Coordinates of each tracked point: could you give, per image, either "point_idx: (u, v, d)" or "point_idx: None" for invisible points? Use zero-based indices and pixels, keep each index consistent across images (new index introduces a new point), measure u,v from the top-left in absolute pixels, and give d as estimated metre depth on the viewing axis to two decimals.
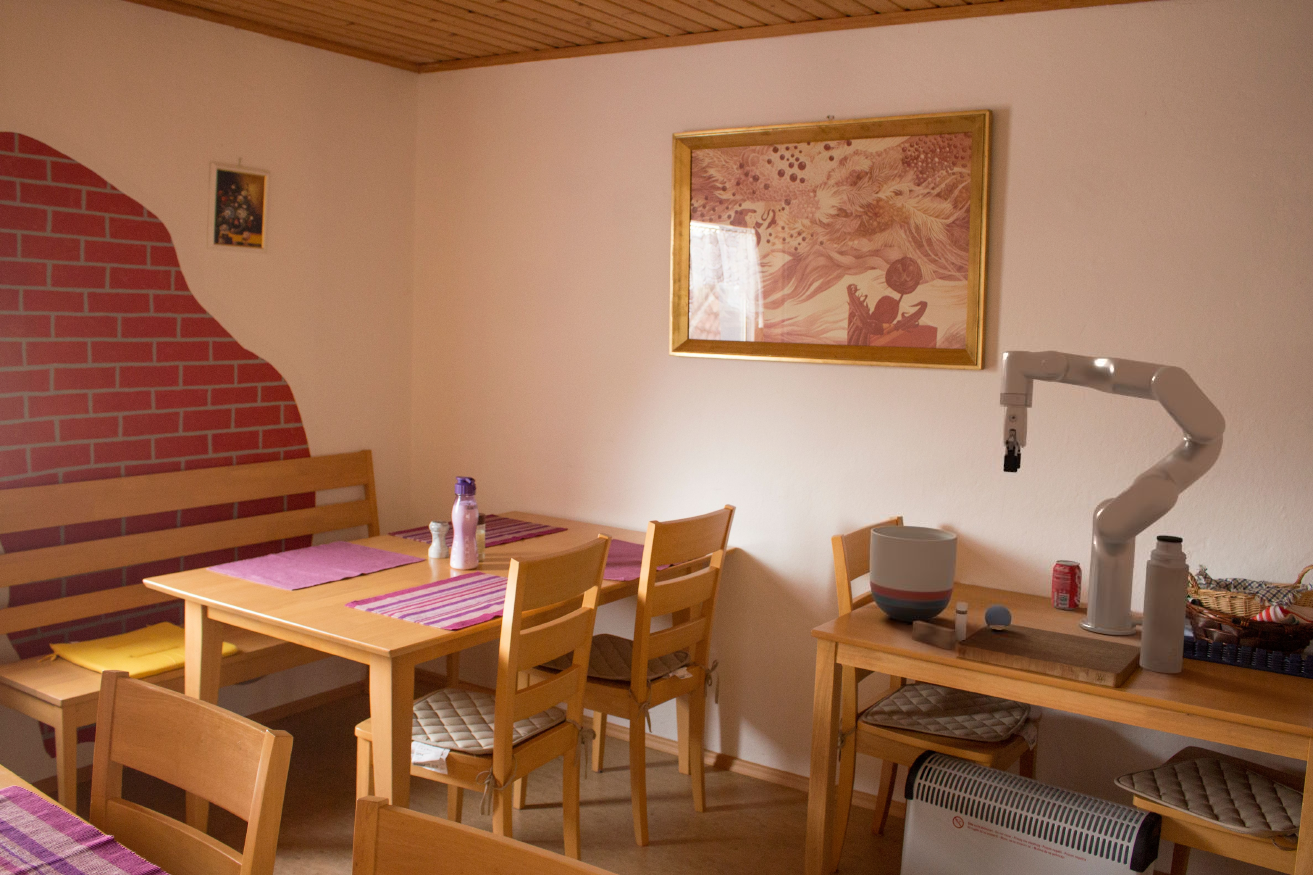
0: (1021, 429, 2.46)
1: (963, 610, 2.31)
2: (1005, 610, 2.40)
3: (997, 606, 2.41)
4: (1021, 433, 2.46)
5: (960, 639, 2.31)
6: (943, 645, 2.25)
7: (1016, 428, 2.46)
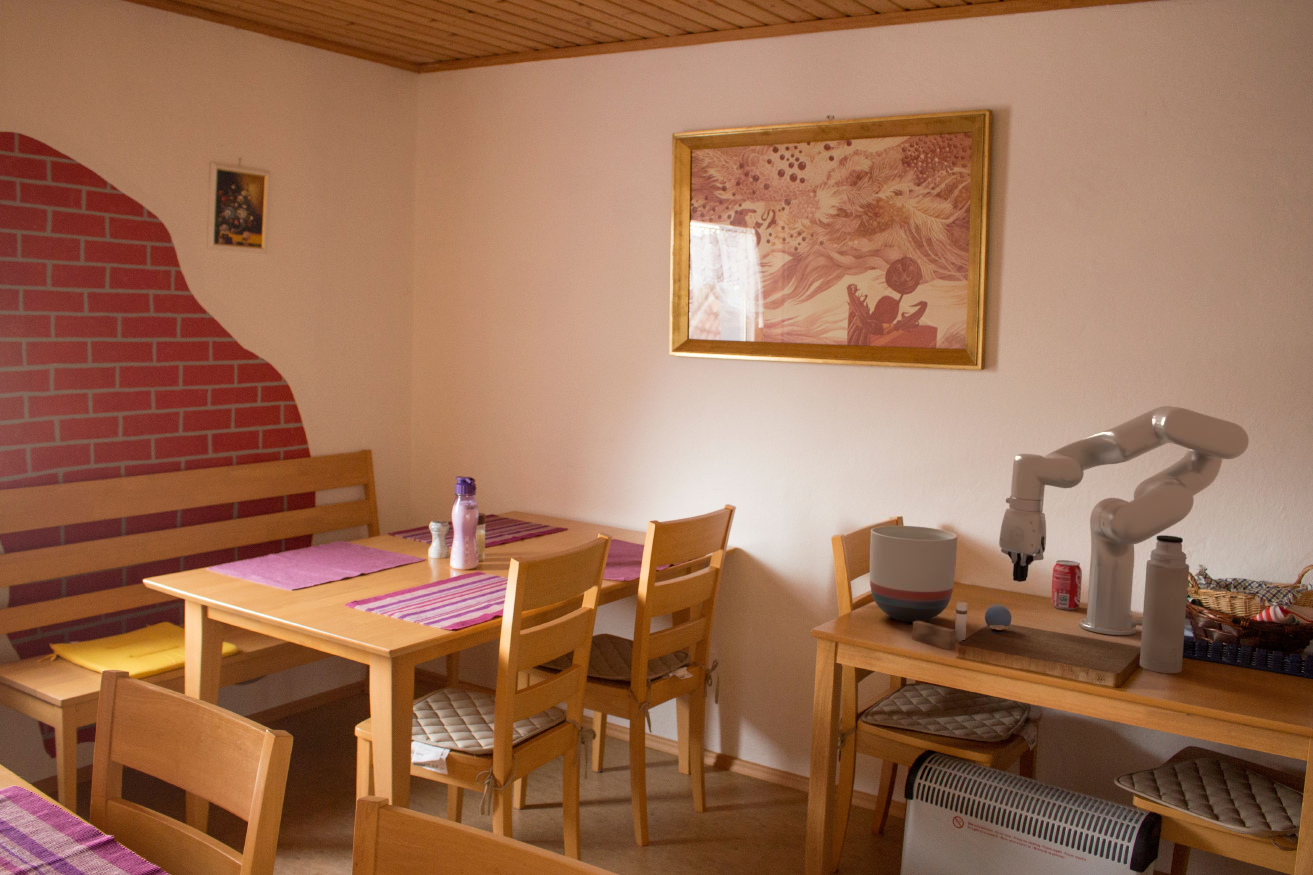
0: None
1: (963, 610, 2.31)
2: (1005, 610, 2.40)
3: (997, 606, 2.41)
4: None
5: (960, 639, 2.31)
6: (943, 645, 2.25)
7: None
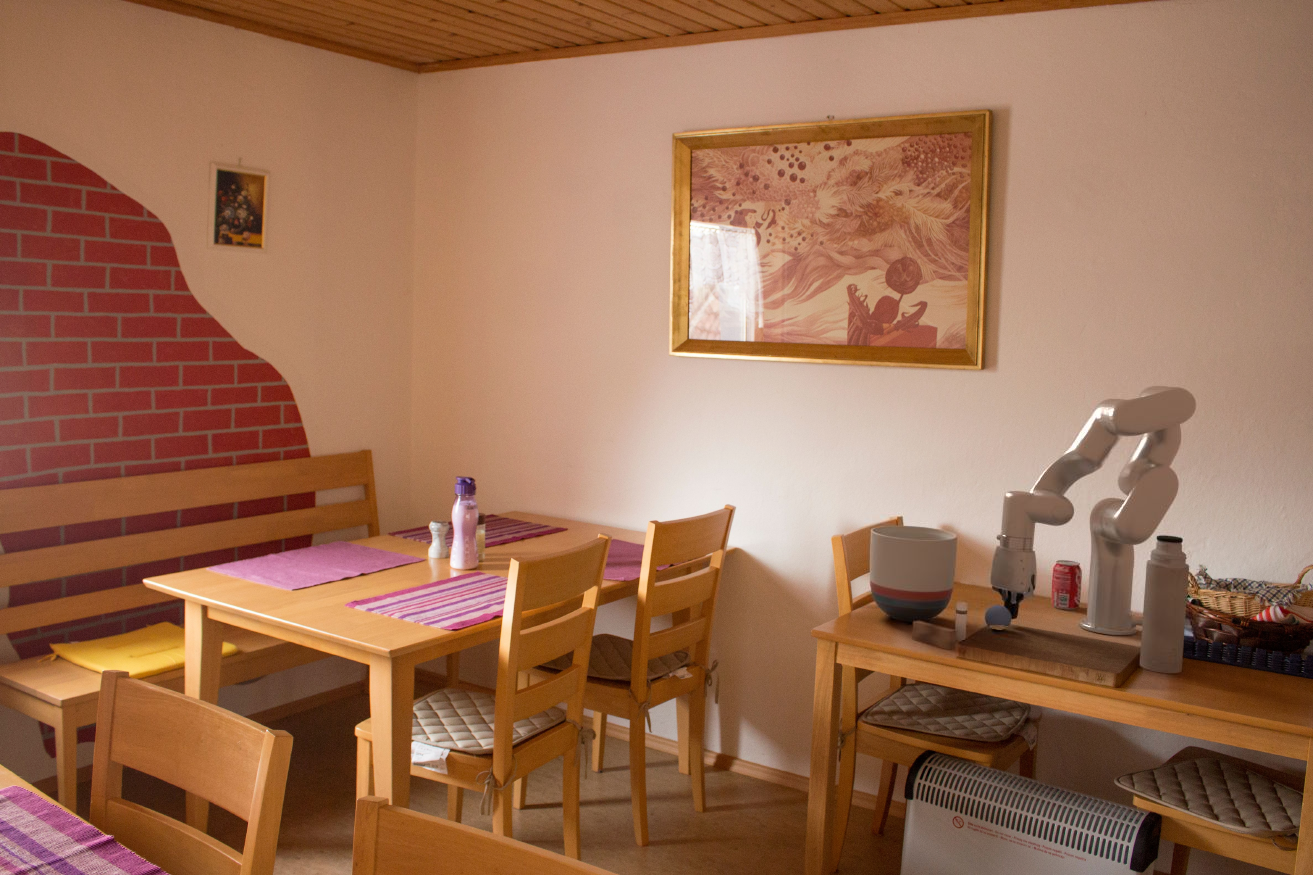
0: None
1: (963, 610, 2.31)
2: (1005, 610, 2.40)
3: (997, 606, 2.41)
4: None
5: (960, 639, 2.31)
6: (943, 645, 2.25)
7: None
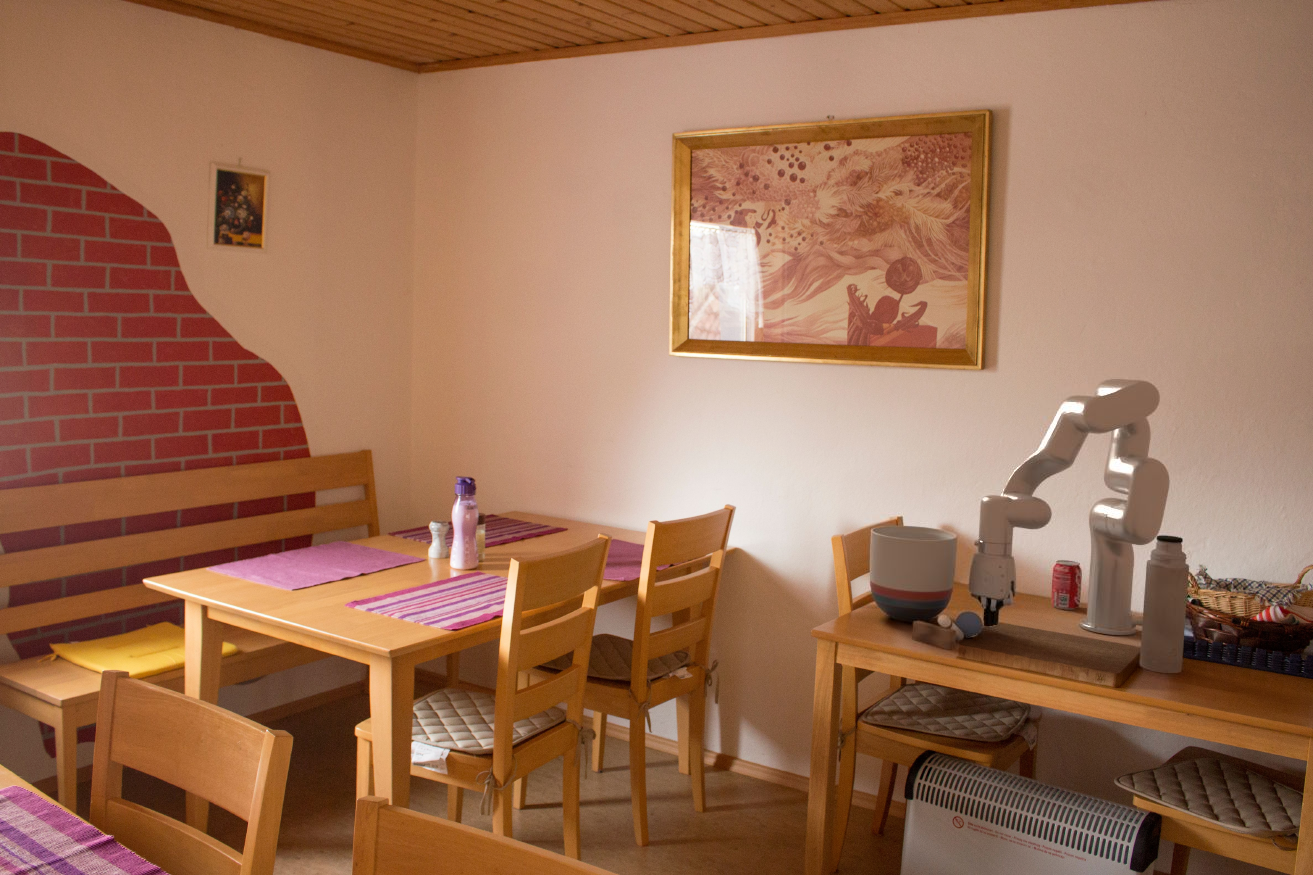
0: None
1: (948, 626, 2.27)
2: None
3: None
4: None
5: (959, 639, 2.31)
6: (943, 645, 2.25)
7: None
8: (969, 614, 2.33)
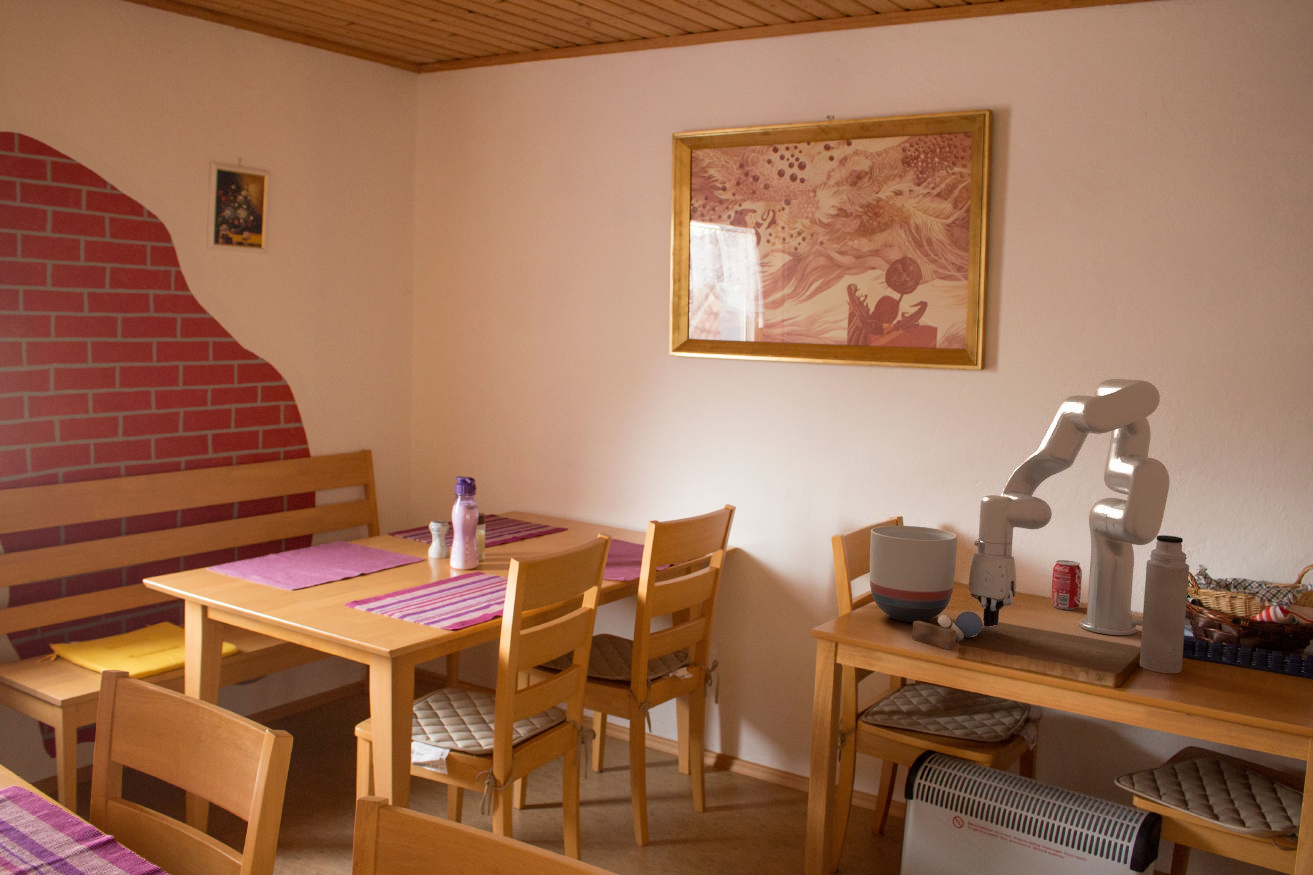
0: None
1: (948, 626, 2.27)
2: None
3: None
4: None
5: (959, 639, 2.31)
6: (943, 645, 2.25)
7: None
8: (969, 614, 2.33)
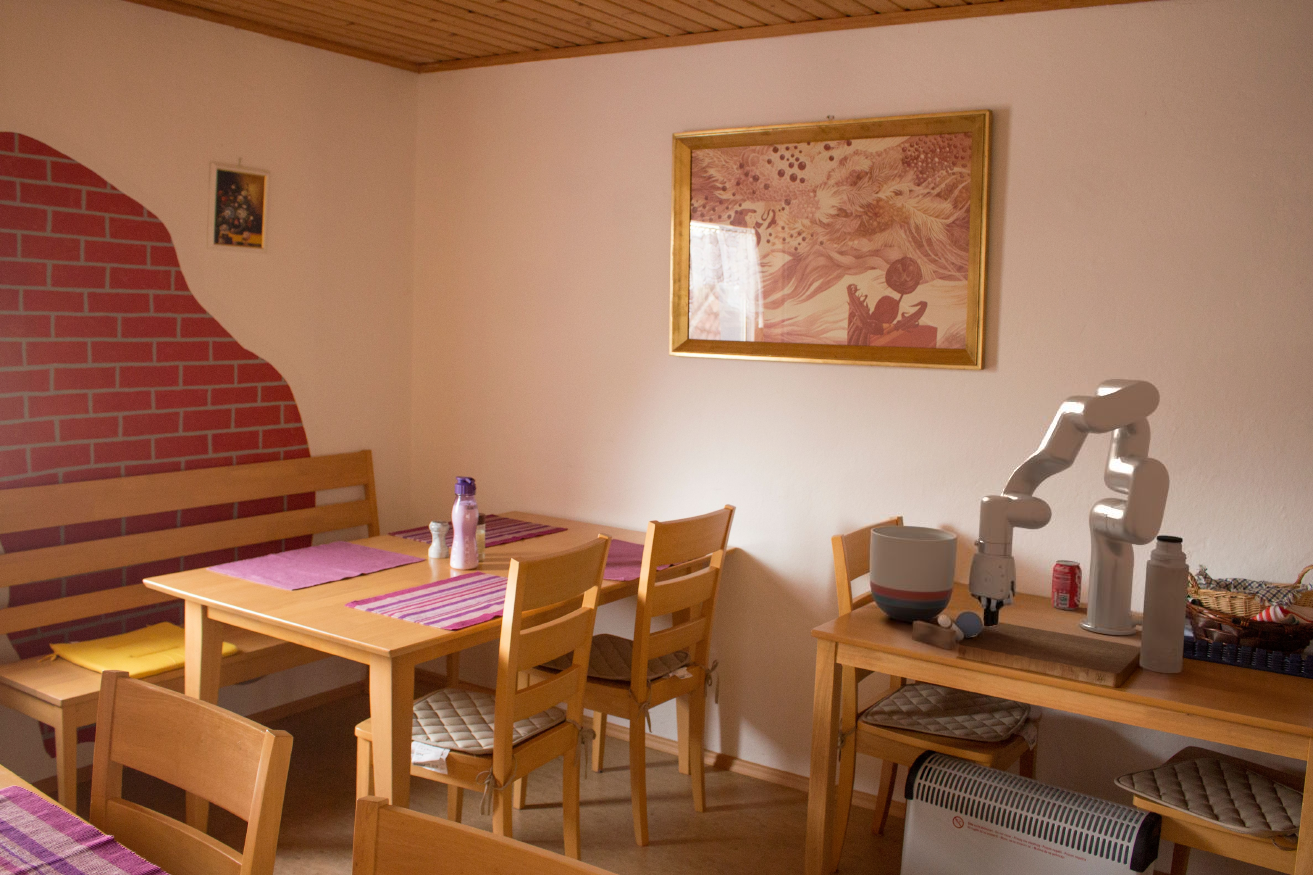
0: None
1: (948, 626, 2.27)
2: None
3: None
4: None
5: (959, 639, 2.31)
6: (943, 645, 2.25)
7: None
8: (969, 614, 2.33)
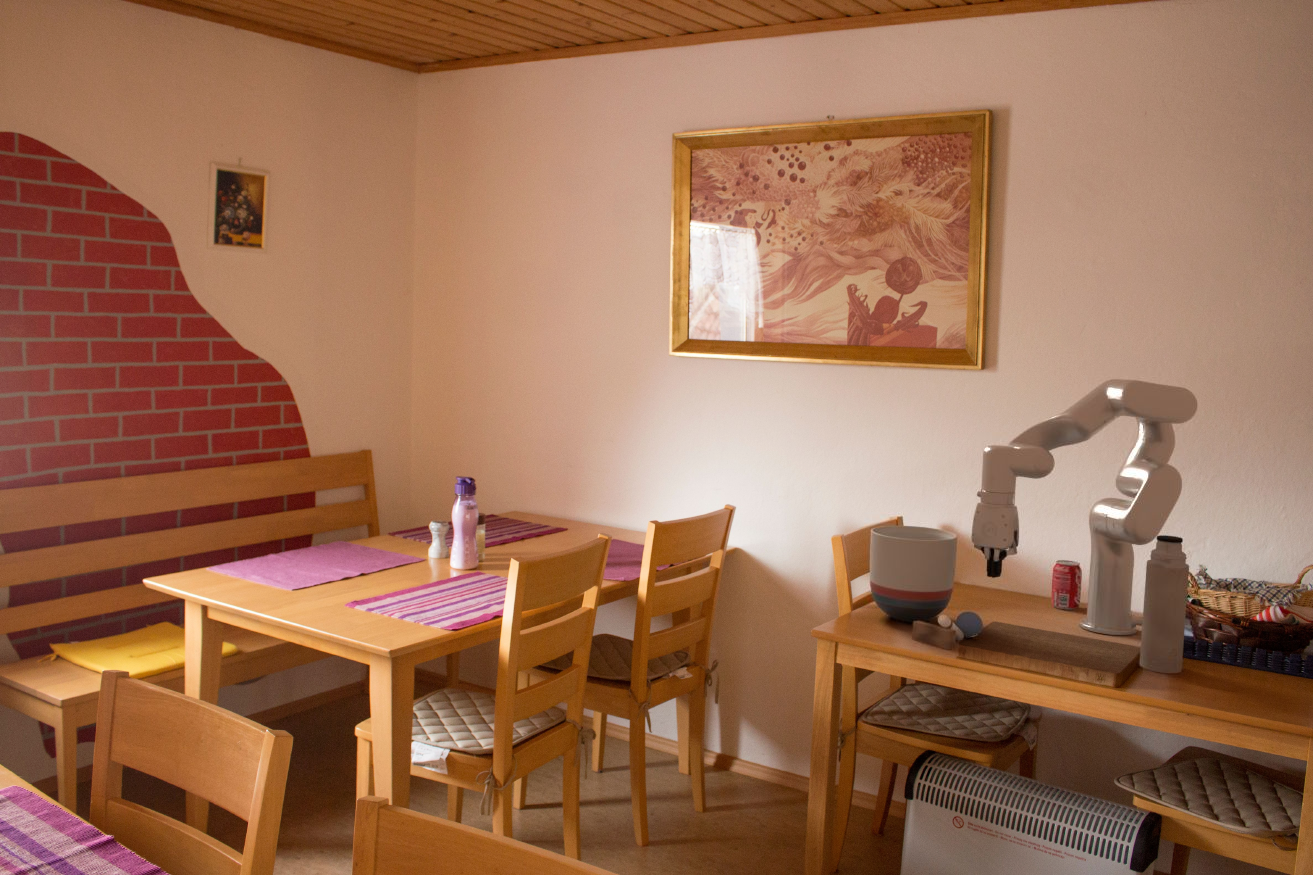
0: None
1: (948, 626, 2.27)
2: None
3: None
4: None
5: (959, 639, 2.31)
6: (943, 645, 2.25)
7: None
8: (969, 614, 2.33)
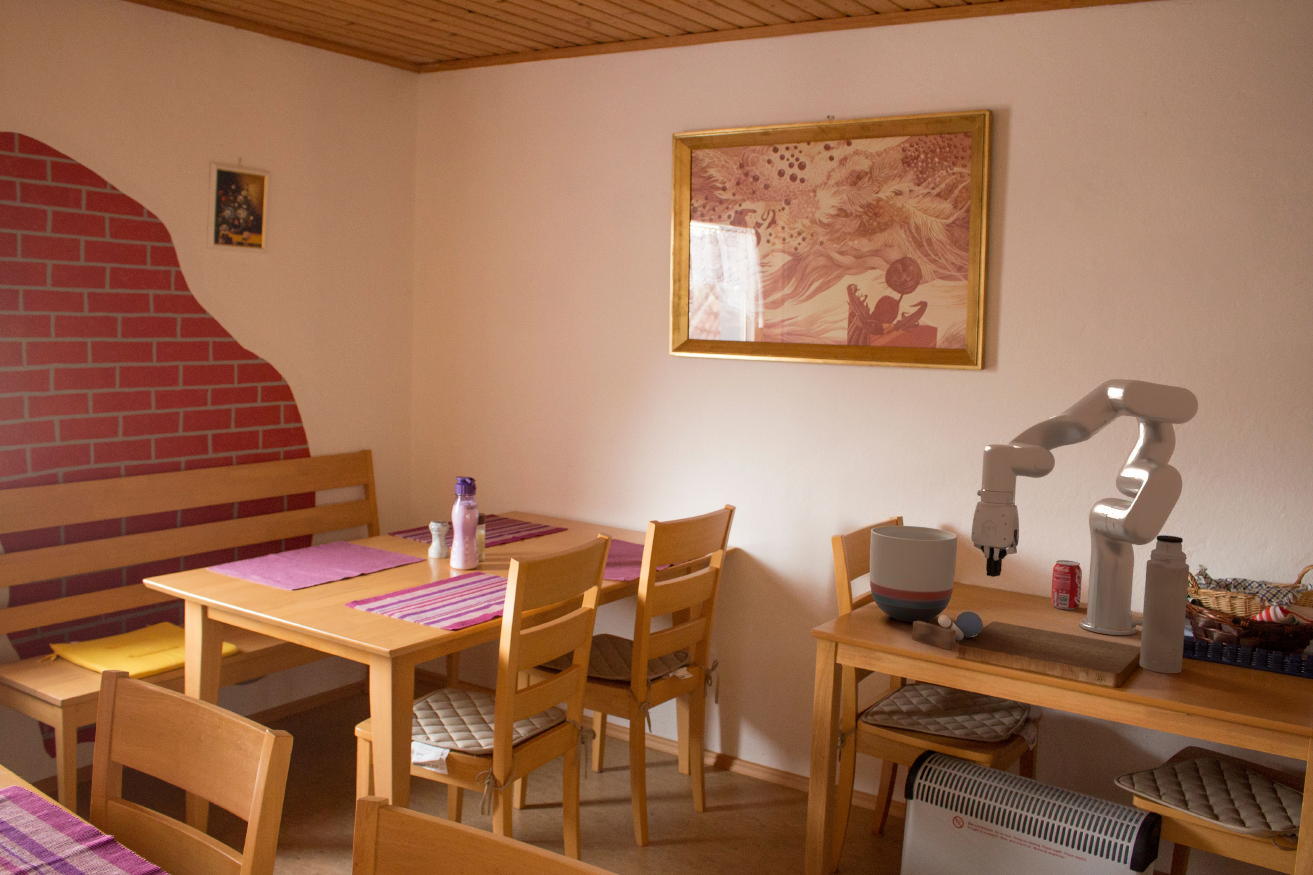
0: None
1: (948, 626, 2.27)
2: None
3: None
4: None
5: (959, 639, 2.31)
6: (943, 645, 2.25)
7: None
8: (969, 614, 2.33)
